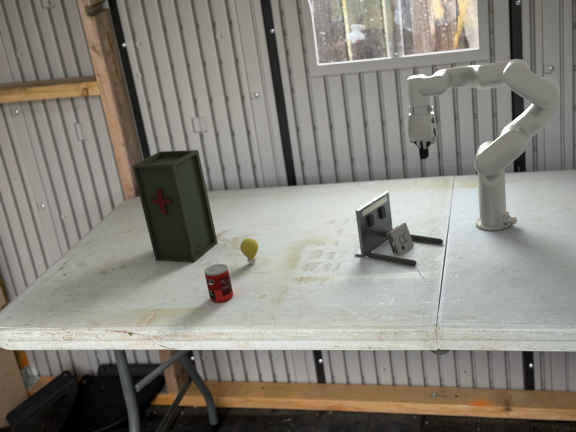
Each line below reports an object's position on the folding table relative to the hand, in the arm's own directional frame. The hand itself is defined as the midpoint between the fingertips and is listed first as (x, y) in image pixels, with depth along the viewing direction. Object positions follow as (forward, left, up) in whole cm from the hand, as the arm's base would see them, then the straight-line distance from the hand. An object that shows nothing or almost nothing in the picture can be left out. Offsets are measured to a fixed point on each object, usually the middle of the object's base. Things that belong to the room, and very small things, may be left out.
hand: (424, 158), depth 246 cm
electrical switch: (-1, +24, -27) cm, 36 cm away
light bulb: (+45, +54, -27) cm, 75 cm away
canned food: (+36, +79, -27) cm, 91 cm away
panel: (+9, +24, -27) cm, 37 cm away
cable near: (-3, +34, -27) cm, 43 cm away
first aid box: (+80, +56, -27) cm, 101 cm away
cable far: (-3, +15, -27) cm, 31 cm away
